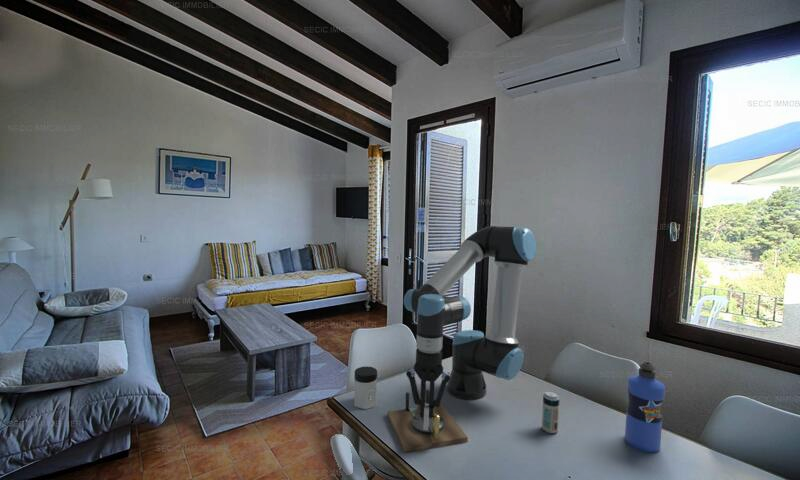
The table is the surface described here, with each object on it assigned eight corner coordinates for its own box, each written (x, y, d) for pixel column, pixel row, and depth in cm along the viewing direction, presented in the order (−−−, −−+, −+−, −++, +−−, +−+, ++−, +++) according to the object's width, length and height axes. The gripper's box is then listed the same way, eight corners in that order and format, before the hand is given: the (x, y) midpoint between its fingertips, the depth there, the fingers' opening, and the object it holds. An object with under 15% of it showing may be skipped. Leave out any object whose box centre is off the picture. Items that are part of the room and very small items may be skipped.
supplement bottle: (557, 427, 120) (559, 391, 119) (558, 435, 116) (560, 398, 115) (541, 424, 122) (543, 389, 121) (541, 432, 117) (543, 396, 116)
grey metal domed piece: (405, 409, 126) (406, 387, 125) (434, 407, 128) (434, 385, 127) (419, 445, 107) (420, 418, 106) (452, 441, 109) (453, 415, 108)
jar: (359, 411, 127) (360, 378, 126) (349, 401, 134) (349, 369, 133) (382, 404, 132) (382, 372, 131) (371, 395, 139) (371, 364, 138)
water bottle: (618, 433, 117) (622, 356, 116) (647, 434, 117) (653, 357, 115) (635, 452, 108) (641, 369, 106) (668, 453, 108) (674, 370, 106)
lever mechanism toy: (441, 408, 131) (442, 387, 130) (467, 441, 112) (468, 418, 111) (387, 415, 125) (387, 394, 125) (404, 452, 106) (404, 427, 106)
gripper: (405, 351, 104) (402, 432, 106) (451, 355, 102) (448, 437, 104) (408, 342, 111) (406, 417, 113) (452, 346, 109) (448, 422, 111)
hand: (426, 427), depth 108 cm, fingers closed
